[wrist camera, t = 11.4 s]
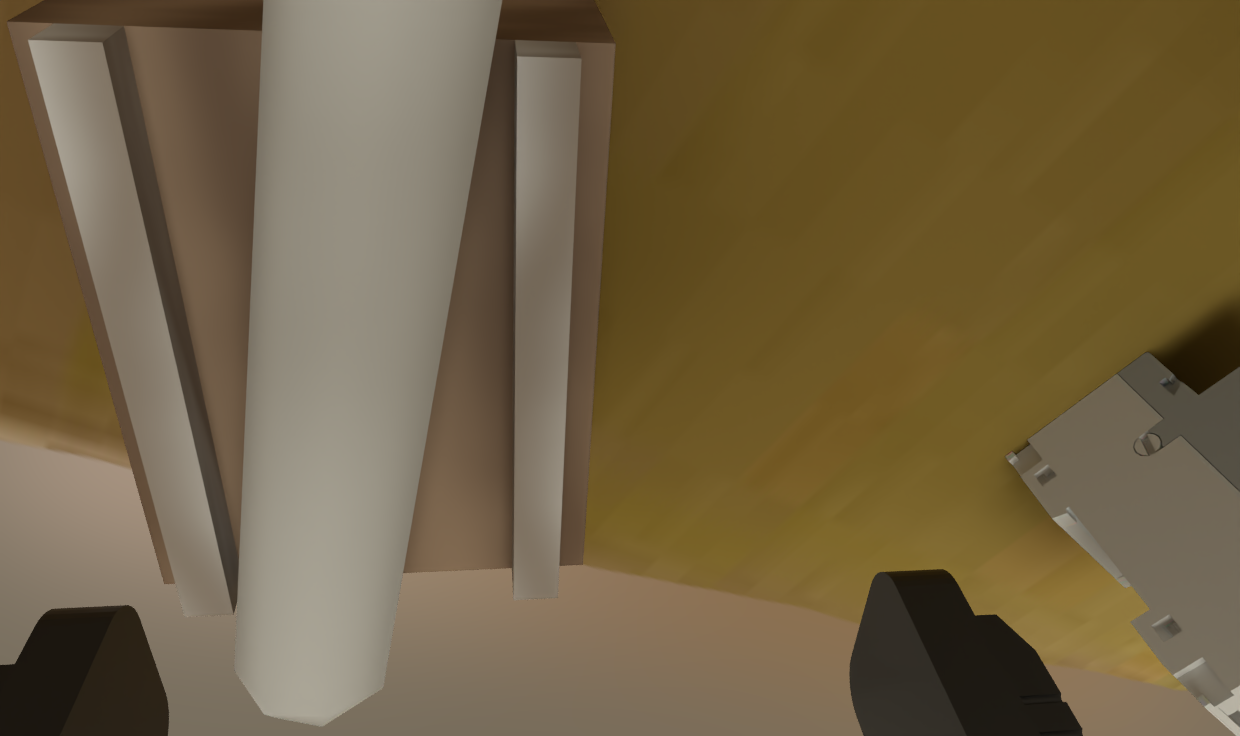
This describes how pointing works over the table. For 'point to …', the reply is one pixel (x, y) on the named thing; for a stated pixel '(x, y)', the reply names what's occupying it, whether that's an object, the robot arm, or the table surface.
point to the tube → (347, 326)
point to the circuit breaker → (1157, 512)
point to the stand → (222, 266)
